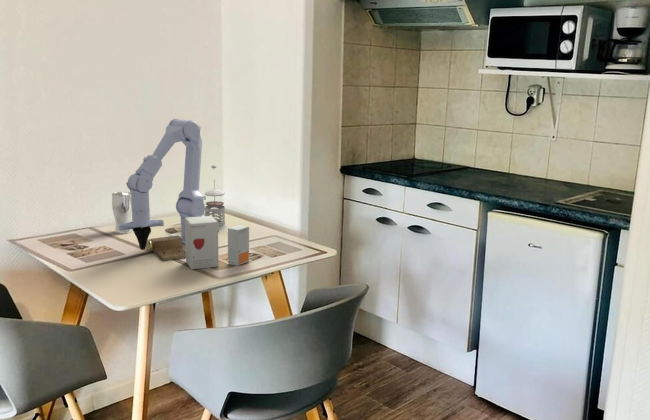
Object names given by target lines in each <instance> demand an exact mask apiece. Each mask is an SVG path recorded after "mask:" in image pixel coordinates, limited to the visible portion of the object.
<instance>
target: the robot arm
mask: <svg viewBox="0 0 650 420" xmlns="http://www.w3.org/2000/svg"><path fill="white" fill-rule="evenodd" d="M201 137H202V136H201V126H200V125H199V124H198V123H197V122H196V121H195V120H192V119H190V120H189V119H179V118H173V119H171V120H170V122H169V123H168V124H167V126H166V127H165V133H164V134H163V136H162V138H161V140H160V141H159V143H158V145H157V146H156V147H155V150H154V151H153V153H152V154H149V155H147V156H145V157H143V159H142V163H141V164H140V165H139V167H138V169H136V170H135V173H133V174H131V175H130V176H129V177H128V179H127V182H126V187H127V189H129V193H130V196H131V206H132V208H131V220H132V221H130V222H129V223H124V224H118V225H119V230H120V231H123V230H129V229H132V232H133V233H134V235H135V237H136V239H137V242H138V243H137V244H138V245H139V249H140V250H146V248H147V245H146V243H147V239H148V238H149V237H150V234H151V233H152V228H154V227H164V225H165V223H164V222H165V221H164V220H163V219H151V215H150V214H151V213H150V212H151V210H150V208H151V207H150V193H149V192H150V190H151V189H152V187H153V181H154V178H155V176H156V175H157V174H158V172H159V171H160V169H161V167H162V166H163V162H162V161H163V159H164V157H165V156H166V155H167V154H168V153H169V151H170V150H171V148H172V147H173V146H174V145H175V144H176V143H179V142H181V143H182V144H183V145H184V146H185V159H184V172H183V187H182V189H183V190H181V192H179V194H178V196H177V197H178V198H177V200H176V203H175V210H176V212H178V213H179V217H180V237H181V238H182V244H184V245H185V218H187V217H201V216H204V215H205V214H204V213H205V208H206V204H205V200H204V197H203V196H204V195H203V194H202V193H201V192H200V180H201V179H200V177H201V164H202V151H203V150H202V149H203V139H202V138H201ZM203 214H204V215H203Z"/></svg>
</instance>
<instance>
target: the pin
mask: <svg viewBox="0 0 650 420" xmlns="http://www.w3.org/2000/svg"><path fill="white" fill-rule="evenodd" d="M146 248H147V251H148V252H149V253H150V252H153V248H154V243H152V241H147V245H146Z"/></svg>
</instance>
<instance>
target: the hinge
mask: <svg viewBox="0 0 650 420" xmlns="http://www.w3.org/2000/svg"><path fill="white" fill-rule="evenodd" d="M147 241H152V243H154V248H153V251H152V252H153V253H154V254H155V255H156V256H157V257H158V258H159V259H161V260H162V261H163V262H167V261H171V260H172V261H173V259H174V260H179V259H186V249H184V248H183V243H182V238H181V235H178V234H177V235H172V236H171V235H169V236H161V237H155V238H154V237H153V238H149V239H147ZM146 246H147V243H146ZM166 260H167V261H166Z"/></svg>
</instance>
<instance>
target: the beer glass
mask: <svg viewBox="0 0 650 420" xmlns="http://www.w3.org/2000/svg"><path fill="white" fill-rule="evenodd" d="M111 207H112V212H113V216H114V217H113V218H114V221H115V222H114V223H115V229H114V233H115V234H118V235H124V234H130V233H132V232H133V230H132V229H129V230H123V231H120V230H119V225H118V224H124V223H129V222H131V218H132V206H131V194H130V191H115V192H113V193H111Z"/></svg>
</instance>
